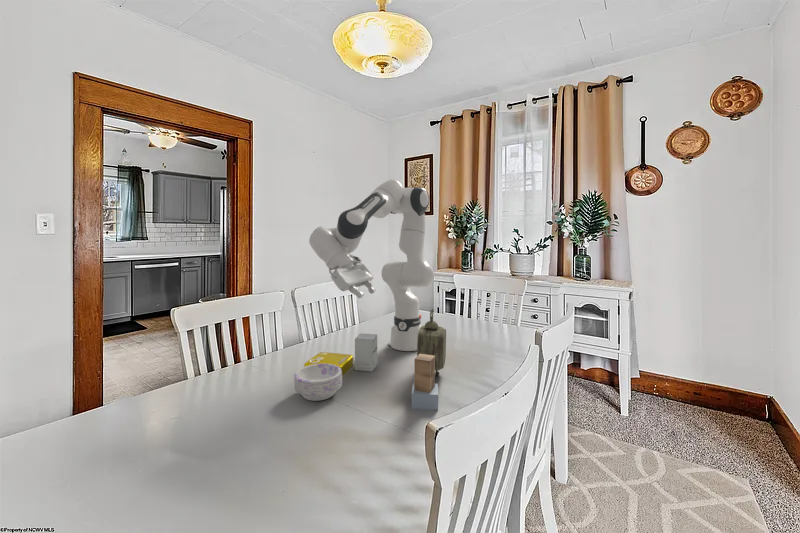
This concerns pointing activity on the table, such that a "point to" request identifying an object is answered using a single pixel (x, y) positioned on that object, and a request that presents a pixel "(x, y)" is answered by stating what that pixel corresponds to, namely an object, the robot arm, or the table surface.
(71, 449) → the table surface
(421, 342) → the tabletop clock
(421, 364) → the walnut pillar
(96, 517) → the table surface
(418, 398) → the slate block
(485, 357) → the table surface
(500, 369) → the table surface
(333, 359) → the element tile
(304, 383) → the paper bowls
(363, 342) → the supplement box
